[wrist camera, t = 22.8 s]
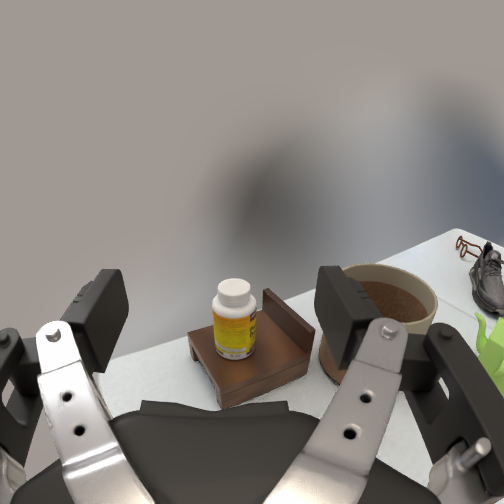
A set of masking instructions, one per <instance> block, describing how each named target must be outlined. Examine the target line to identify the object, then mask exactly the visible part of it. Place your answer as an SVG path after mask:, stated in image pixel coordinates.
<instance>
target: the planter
mask: <svg viewBox="0 0 504 504" xmlns="http://www.w3.org/2000/svg"><path fill="white" fill-rule="evenodd" d="M342 271H343V272H344V274H345V275H346V277H352V278H353V279H355V280H356V281H357V282H359V283H360V284H361V285H362V287H363V288H364V289H365V292H367V294H368V295H369V297H370V299H372V301H373V302H374V304H375V305H376V307H377V308H378V310H379V311H380V313H381V314H382V316H383V317H384V318H390V319H394V320H396V321H398V322H400V323H401V324H403V325H404V326H405V327H406V329H407V331H408V333H413V334H424V335H426V333H427V331H428V329H429V327H430V325H431V323H432V321H433V318H434V316H435V313H436V311H437V307H438V301H437V297H436V295H435V293H434V292H433V290H432V289H431V288H430V286H429V285H428V284H426V283H425V282H424V281H423V280H421V279H420V278H418V277H417V276H415V275H413V274H411V273H409V272H407V271H405V270H402V269H399V268H396V267H392V266H388V265H382V264H372V263H369V264H368V263H367V264H356V265H352V266H349V267H346V268H344V269H342ZM319 357H320V361H321V364H322V366H323V368H324V369H325V371H326V372H327V373H328V375H329V376H330V377H331V378H332V379H334V380H335V381H336V382H338V383H339V384H341V382H342V380H343V378H344V376H345V374H346V372H347V370H348V369H347V370H340V371H338V368H337V366H336V363H335V361H334V358H333V356H332V353H331V351H330V348H329V346H328V343H327V340H326V338H325V335H324V333H323V335H322V340H321V344H320V349H319Z"/></svg>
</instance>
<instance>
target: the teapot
mask: <svg viewBox="0 0 504 504" xmlns="http://www.w3.org/2000/svg"><path fill="white" fill-rule="evenodd" d="M475 316H476V317H477V319H478V322H479V330H478V335H477V340H476V348H477V351H478V353H479V354H480V355H479V357H478V360H479V361H480V362H481V364H482V365H483V367H484V368H485V370H486V371H487V373H488V374H489V376H490V377H491V379H492V380H493V382H494V383H495V385H496V387H497V388H498V390H499V391H500V393H501V395H502V396H503V398H504V319H503V318H501V317H499V319H498V321H497V323H496V325H495V327H494V329H493V331H492V333H491V335H490V337H489V339H488V340H487V338H486V336H485V328H486V322H485V319H484V318H483V317H482V316H481V315H480V314H478V313H475Z"/></svg>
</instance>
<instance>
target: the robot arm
mask: <svg viewBox="0 0 504 504" xmlns="http://www.w3.org/2000/svg"><path fill="white" fill-rule="evenodd" d="M314 308H315V313H316V316H317V318H318V321H319V323H320V326H321V328H322V330H323V333H324V335H325V338H326V340H327V343H328V346H329V348H330V351H331V353H332V356H333V358H334V361H335V363H336V366H337V368H338V371H340V370H347V369H348V370H347V372H346V374H345V376H344V378H343V380H342V382H341V384H340V386H339V388H338V390H337V392H336V393H335V395H334V397H333V399H332V401H331V403H330V405H329V406H328V408H327V410H326V412H325V413H324V415H323V417H322V419H321V420H320V419H318V418H315V417H313V416H311V415H307V414H304V413H300V412H296V411H289V408H288V402H287V401H277V402H262V403H249V404H245V405H241V406H237V407H233V408H228V409H224V410H219V411H207V410H203V409H199V408H194V407H190V406H186V405H183V404H179V403H172V402H157V401H146V400H142V403H141V407H140V410H137V411H132V412H128V413H125V414H122V415H120V416H117V417H115V418H113V417H112V415H111V413H110V411H109V409H108V407H107V405H106V403H105V401H104V399H103V397H102V395H101V393H100V391H99V389H98V386H97V384H96V382H95V380H94V378H93V376H92V374H93V372H99V373H105V371H106V368H107V365H108V363H109V360H110V358H111V355H112V353H113V350H114V348H115V345H116V342H117V340H118V338H119V335H120V333H121V330H122V328H123V326H124V323H125V321H126V319H127V316H128V311H129V304H128V299H127V295H126V290H125V286H124V281H123V277H122V273H121V271H120V270H119V269H102V270H101V271H100V272H99V274H98V275H97V277H96V278H95V280H94V281H90V282H89V283H88V284H87V285H85V286H84V287H82V289H81V290H80V292H79V293H78V294H77V296H76V297H75V299H74V300H73V303H71V304H70V306H69V307H68V308H67V310H66V312H65V313H64V314H63V316H62V317H61V319H60V320H59V321H54V322H50V323H48V324H46V325H44V326H43V327H42V328H41V329H40V330H39V331H38V333H37V335H36V337H34V338H26V339H21V337H20V335H19V333H18V331H17V330H16V329H14V328H6V329H3V330H1V331H0V504H494V503H496V502H497V501H499V500H501V499H502V498H504V398H503V396H502V395H501V393H500V391H499V390H498V388H497V387H496V385H495V383H494V382H493V380H492V379H491V377H490V376H489V374H488V373H487V371H486V370H485V368H484V367H483V365H482V364H481V362H480V361H479V360H478V358H477V357H476V355H475V354H474V352H473V351H472V350H471V348H470V347H469V346H468V344H467V343H466V341H465V340H464V339H463V337H462V336H461V335H460V333H459V332H458V331H457V330H456V329H455V328H453V327H452V326H450V325H448V324H445V323H434V324H432V325H430V327H429V329H428V331H427V333H426V335H424V334H413V333H408V331H407V329H406V327H405V326H404V325H403V324H401V323H400V322H398V321H396V320H394V319H390V318H384V317H383V316H382V314H381V313H380V311H379V310H378V308H377V307H376V305H375V304H374V302H373V301H372V299H370V297H369V295H368V294H367V292H365V289H364V288H363V287H362V285H361V284H360V283H359V282H357V281H356V280H355V279H353V278H352V277H346V275H345V274H344V272H343V271H342V269H341V268H340V267H339V266H321V267H320V268H319V272H318V279H317V285H316V292H315V298H314ZM441 377H442V379H443V381H444V382H445V384H446V386H447V388H448V390H449V400H448V398H447V397H446V395H445V393H444V391H443V389H442V387H441V385H440V384H439V382H438V381H439V379H440V378H441ZM8 379H9V380H10V381H11V382H12V384H13V385H14V387H15V388H14V390H13V392H12V394H11V397H10V399H9V401H8V403H7V406H6V407H5V406H4V404H3V402H2V392H3V390H4V388H5V386H6V383H7V381H8ZM398 391H403V392H404V394H405V397H406V399H407V401H408V404H409V406H410V408H411V410H412V413H413V415H414V418H415V420H416V422H417V425H418V427H419V430H420V432H421V435H422V437H423V440H424V442H425V445H426V447H427V450H428V453H429V455H430V458H431V461H432V463H433V466H432V468H431V470H430V474H429V483H428V486H427V487H428V488H426V487H424V486H422V485H421V484H419V483H417V482H415V481H414V480H412V479H410V478H408V477H407V476H405V475H403V474H402V473H400V472H398V471H397V470H395V469H393V468H392V467H390V466H389V465H387V464H385V463H384V462H382V461H381V460H379V459H378V458H376V454H377V452H378V449H379V447H380V444H381V442H382V439H383V436H384V434H385V431H386V428H387V425H388V422H389V419H390V416H391V413H392V410H393V407H394V403H395V400H396V397H397V393H398ZM43 406H44V410H45V414H46V417H47V421H48V424H49V427H50V430H51V434H52V437H53V440H54V443H55V446H56V449H57V452H58V454H59V457H60V458H59V459H58V460H57V461H55V462H54V463H52V464H51V465H50V466H48V467H47V468H45V469H44V470H43V471H41V472H40V473H38V474H37V475H36V476H34V477H33V478H31V479H30V480H29V481H27V480H26V474H25V471H24V466H25V462H26V458H27V455H28V451H29V448H30V444H31V441H32V438H33V434H34V431H35V429H36V426H37V423H38V420H39V417H40V414H41V411H42V408H43Z"/></svg>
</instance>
